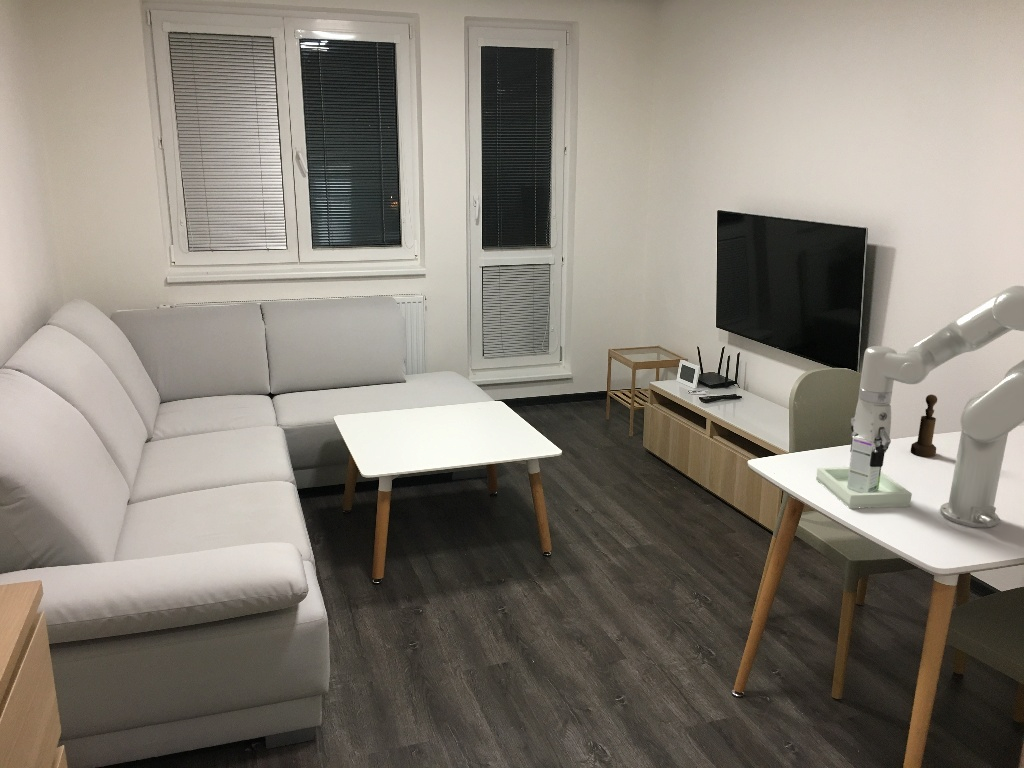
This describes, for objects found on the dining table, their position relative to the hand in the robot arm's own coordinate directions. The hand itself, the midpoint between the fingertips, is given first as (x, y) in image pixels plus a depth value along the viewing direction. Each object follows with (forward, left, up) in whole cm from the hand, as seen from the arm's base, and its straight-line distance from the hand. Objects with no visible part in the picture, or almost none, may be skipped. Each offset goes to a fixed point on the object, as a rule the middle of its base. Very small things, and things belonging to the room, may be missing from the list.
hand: (865, 459), depth 211 cm
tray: (0, 0, -9) cm, 9 cm away
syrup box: (0, 0, -8) cm, 9 cm away
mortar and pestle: (+26, -33, -10) cm, 43 cm away
